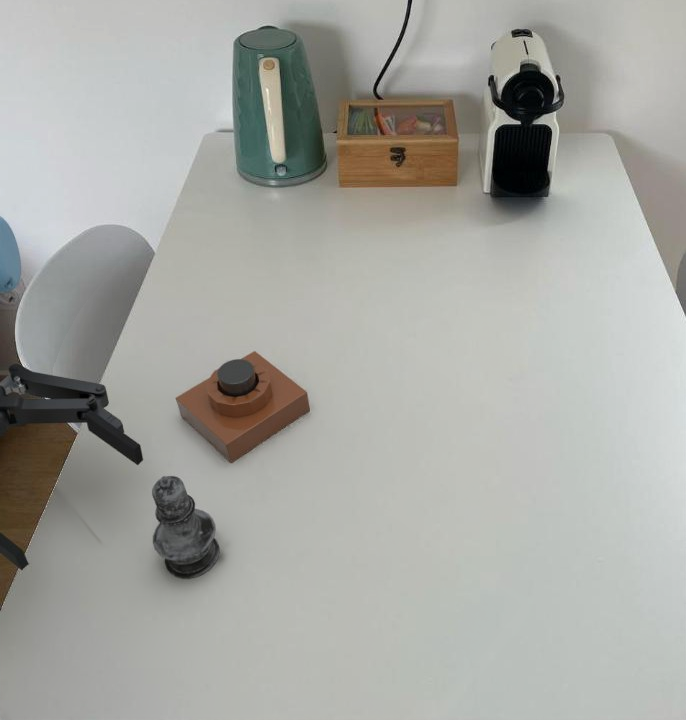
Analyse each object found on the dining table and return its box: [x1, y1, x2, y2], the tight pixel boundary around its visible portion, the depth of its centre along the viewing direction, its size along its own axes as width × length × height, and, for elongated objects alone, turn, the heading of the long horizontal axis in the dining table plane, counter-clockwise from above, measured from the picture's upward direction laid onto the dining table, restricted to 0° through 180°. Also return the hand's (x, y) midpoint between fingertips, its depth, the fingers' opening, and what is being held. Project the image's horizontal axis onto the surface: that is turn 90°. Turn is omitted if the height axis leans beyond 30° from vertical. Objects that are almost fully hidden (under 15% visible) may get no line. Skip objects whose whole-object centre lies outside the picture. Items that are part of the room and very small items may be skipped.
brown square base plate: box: [175, 350, 311, 463], centre depth 91 cm, size 11×10×5 cm
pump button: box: [217, 358, 257, 397], centre depth 89 cm, size 4×4×2 cm
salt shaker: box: [151, 475, 220, 580], centre depth 75 cm, size 6×6×12 cm
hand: (84, 505), depth 74 cm, fingers open, 13 cm apart
